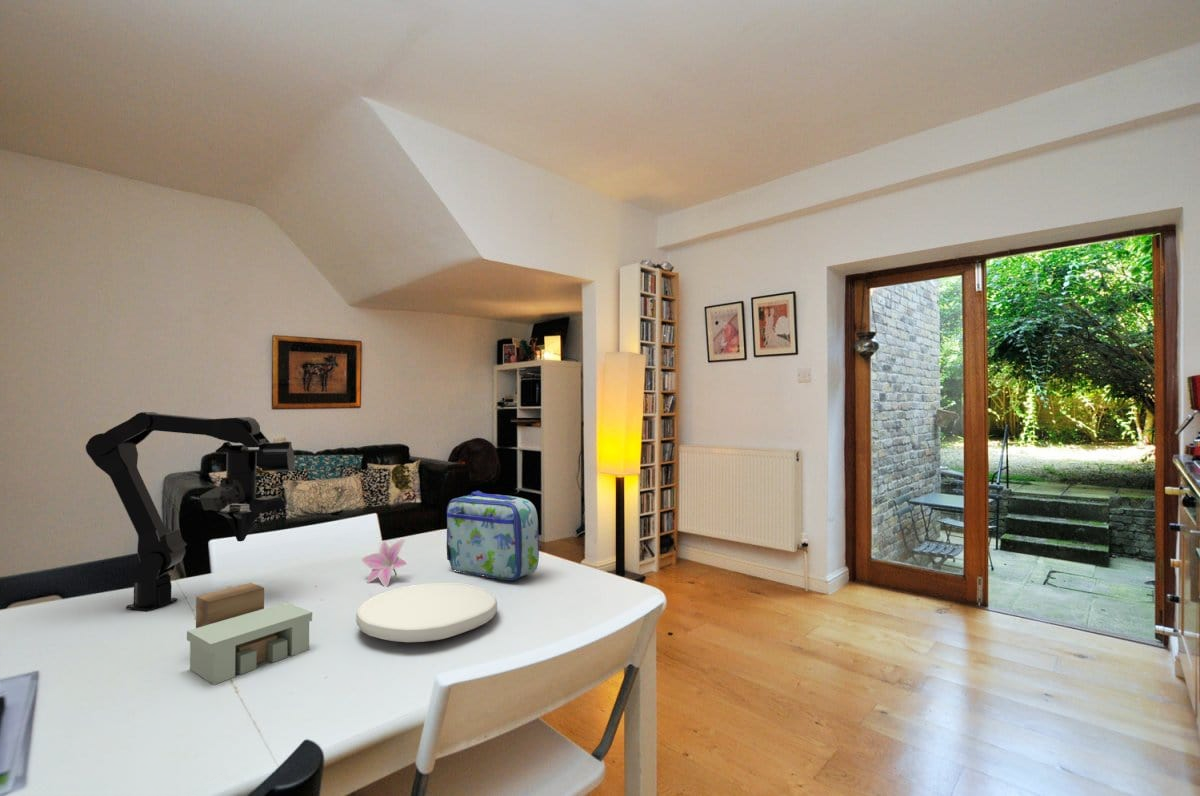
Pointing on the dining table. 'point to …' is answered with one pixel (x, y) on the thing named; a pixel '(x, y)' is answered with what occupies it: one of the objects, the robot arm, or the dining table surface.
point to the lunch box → (492, 535)
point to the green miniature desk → (219, 639)
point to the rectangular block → (234, 612)
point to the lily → (384, 562)
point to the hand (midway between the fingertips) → (240, 541)
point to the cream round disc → (426, 612)
